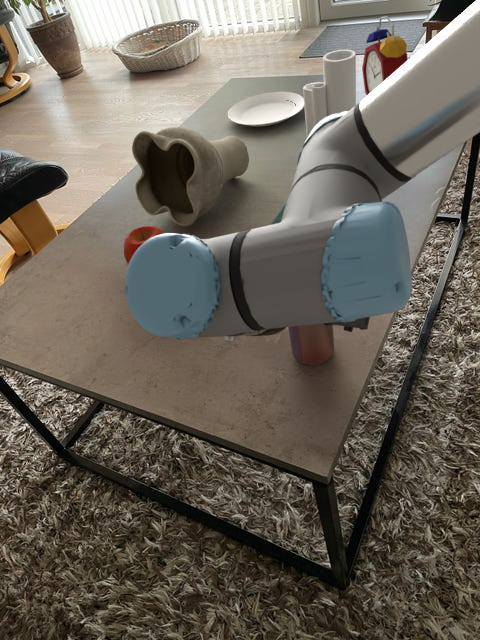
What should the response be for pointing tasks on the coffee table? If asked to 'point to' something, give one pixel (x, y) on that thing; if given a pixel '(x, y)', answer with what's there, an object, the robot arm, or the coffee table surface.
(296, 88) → the coffee table surface
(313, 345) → the beverage can
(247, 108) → the plate
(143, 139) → the vase
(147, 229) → the apple
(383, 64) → the alarm clock
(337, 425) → the coffee table surface
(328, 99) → the vase
